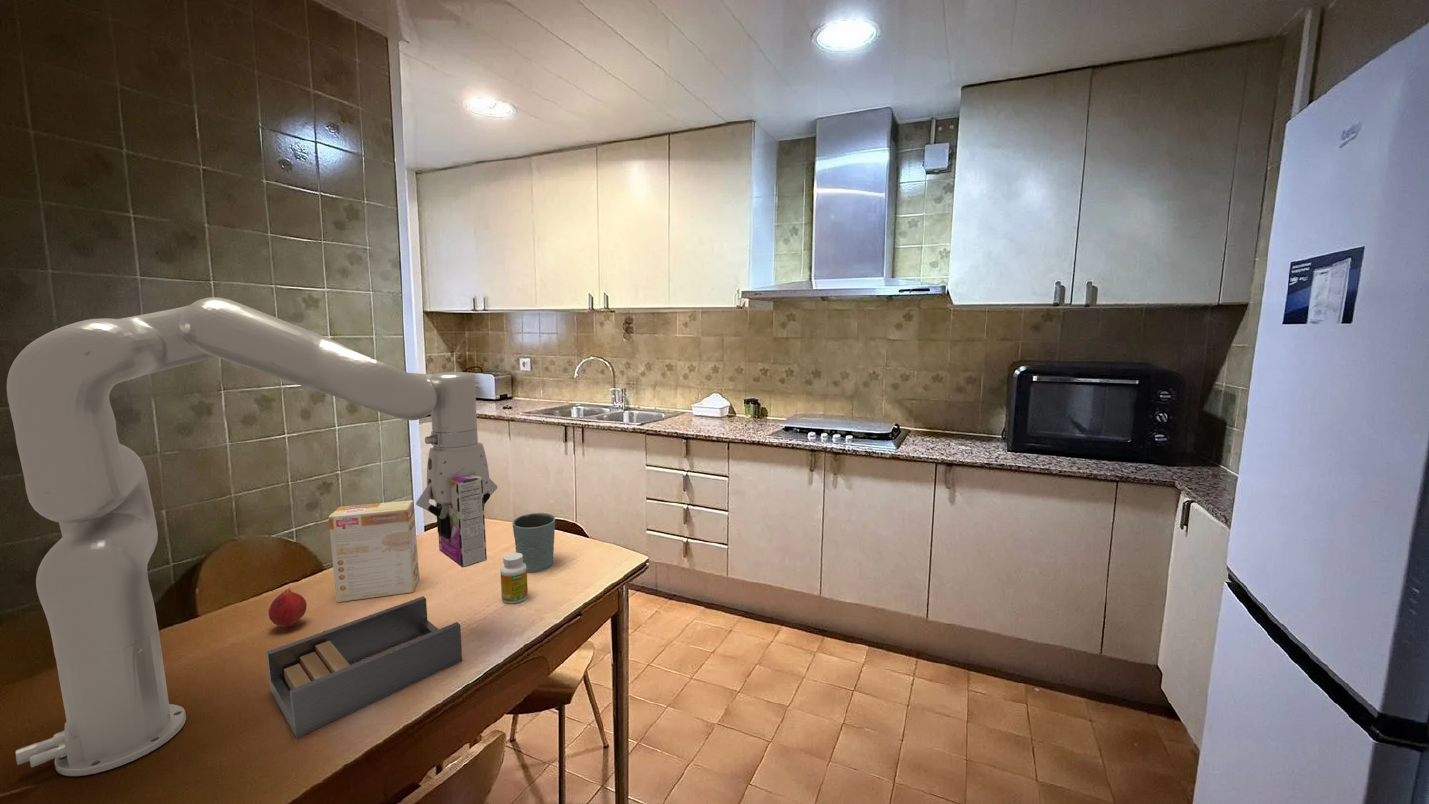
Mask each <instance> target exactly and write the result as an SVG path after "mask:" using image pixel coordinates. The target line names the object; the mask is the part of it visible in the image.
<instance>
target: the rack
mask: <svg viewBox="0 0 1429 804" xmlns="http://www.w3.org/2000/svg"><path fill="white" fill-rule="evenodd" d="M427 609H428V608H427V598H426V597H425V596H424V595H422V596H420V597H417V598H415V599H411V600H409V601H407V602H403V603H401V604H398V605H395V606H392V607H389V608H386V609H384V610H381V611H380V610H379V611H378V612H375V613H373V614H370V615H366V616H364V617H361V618H358V619H356V620H355V619H354V620H351V621H349V622H347V623H344V624H341V625H338V626H335V627H333V628H330V629H327V630H324V631H322V632H318V633H316V634H312V635H310V636H307V637H305V638H302V639H298V640H295V641H293V642H291V643H287V644H285V645H282V646H279V647H276V648H273V649H270V650H268V651H266V662H267V668H268V669H267V670H268V678H269V679H268V680H269V687H270V693H271V695H272V697H273V698H274V700H275V702H276V704H277V705H278V707H279V709H280V711H281V713H282V714H283V716H284V718H285V720H286V722H287V723H288V726H289V727H290V729H291V731H292V733H293V734H294V736H295V738H296V739H298V738H300V737H302V736H304V735H306V734H309V733H311V732H312V731H315V730H317V729H319V728H321V727H324V726H326V725H328V724H331V723H332V722H334V721H337V720H339V719H341V718H343V717H346V716H348V715H349V714H352V713H355V712H357V711H358V710H360V709H362V708H365V707H368V706H369V705H371V704H373V703H376V702H378V701H379V700H382V699H383V698H386V697H388V696H391V695H393V694H394V693H397V692H399V691H401V690H403V689H406V688H408V687H410V686H412V685H414V684H416V683H419V682H420V681H422V680H425V679H427V678H429V677H431V676H433V675H436V674H438V673H440V672H442V671H444V670H446V669H448V668H450V667H451V668H452V666H455V665H457V664H459V663H461V662H463V648H462V633H461V632H462V631H461V624H460V623H459V622H458V621H456V622H453V623H451V624H448V625H447V626H444V627H441V628H438V627H437V626H436V625H434V624H433V623H432V622H431V621H429V619H428V610H427ZM414 638H415V639H414ZM409 640H410V641H409ZM399 644H400V645H399ZM375 654H376V655H375ZM355 662H356V663H355Z"/></svg>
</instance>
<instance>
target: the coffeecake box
mask: <svg viewBox="0 0 1429 804" xmlns="http://www.w3.org/2000/svg"><path fill="white" fill-rule="evenodd" d="M414 502H415V501H414V500H400V501H392V502H391V501H389V502H381V503H380V502H378V503H367V504H357V505H347V506H343V505H342V506H339V507H337V508H336V509H335V510H334V511H333V512H332V513H331V514H330V515H328V527H329V536H330V547H331V559H332V569H333V570H332V571H333V578H334V579H333V580H334V588H335V589H334V590H335V598H336V599H335V600H336V603H344V602H350V601H357V600H358V601H359V600H366V599H372V598H380V597H388V596H395V595H402V594H410V593H411V594H412V593H414V592H415V590H416V587H417V585H418V583H419V581H420V572H419V571H420V570H419V566H420V565H419V555H418V542H417V530H416V529H417V527H416V517H415V516H416V514H415V513H416V512H415V503H414Z"/></svg>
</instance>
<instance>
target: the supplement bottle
mask: <svg viewBox="0 0 1429 804" xmlns="http://www.w3.org/2000/svg"><path fill="white" fill-rule="evenodd" d="M502 560H503V565H502V566H501V568H500V586H501V589H500V591H501V593H500V594H501V601H502V602H503V603H505V604H509V605H510V604H519V603H521V602H523V601H525V600H526V599H527V598H528V597H529V596H528V595H529V594H528V591H529V590H528V589H529V588H528V573H527V566H526V564H525V563H523V555H522V554H521V553H516V552H510V553H507V554H505V555H504V556H503V558H502Z"/></svg>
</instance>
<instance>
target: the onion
mask: <svg viewBox="0 0 1429 804" xmlns="http://www.w3.org/2000/svg"><path fill="white" fill-rule="evenodd" d="M307 604H308V603H307V601H306V599H305V598H304V597H303V596H302V595H301V594H299V593H297V592H293V591H292V588H291V587H286V588H284V589H283V590H282V592H281V594H279V595H278V596H276V598H274V600H273V601H272V602H271V604H270V606H269V609H268V618H269V620H270V621H271V622H272V623H273V625H276V626H279V627H284V628H292V627H294V626H295V624H296V623H297V622H299V620H301V619H302V617H304V616H305V613H306V612H307V606H308V605H307Z"/></svg>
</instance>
